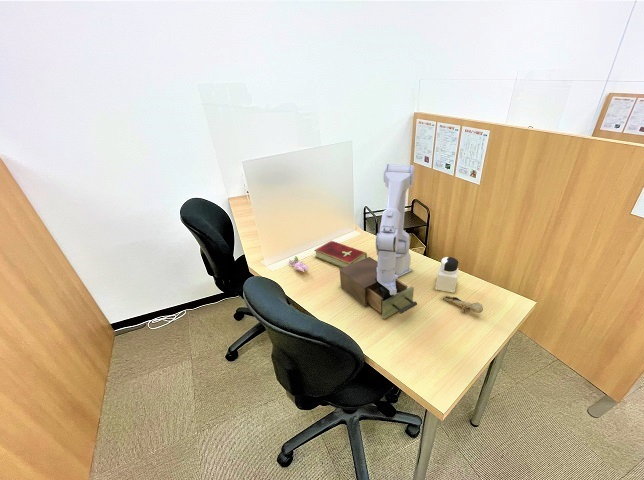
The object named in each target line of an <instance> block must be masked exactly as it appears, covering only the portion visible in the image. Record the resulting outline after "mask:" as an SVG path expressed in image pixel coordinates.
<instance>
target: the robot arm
mask: <svg viewBox="0 0 644 480" xmlns="http://www.w3.org/2000/svg"><path fill="white" fill-rule="evenodd" d="M415 172H416V167H415V165H414V164H389V163H387V164H385V165H384V168H383V182H384V184H385V187H386V188H387V189H388V190H387V191H388V192H387V205H386V209H385V210H383V211H382V215H381V221H380V226H379V231H378V232H377V233H376V237H375V251H376V256H377V262H378V267H377V278H375V281H376V282H377V284H378V287H379V292H380V293H382V294H383V300H386V299H388V298H390V297H392V296H393V295H395V294H396V292H397V286H396V285H395V279H397V280H399V278H400V277H402V276H404V275H406V274H408V273H410V272H412V269H411V260H412V259H411V258H412V257H411V253H410V246H411V245H410V244H411V236H410V234H409V233H408V232H406V230H404V225H405V213H406V212H405V211H406V198H407V191H408V189H410V188H413V186H414V183H415V182H414V181H415V174H416V173H415ZM395 273H396V274H395Z"/></svg>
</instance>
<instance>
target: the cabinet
mask: <svg viewBox="0 0 644 480" xmlns="http://www.w3.org/2000/svg"><path fill="white" fill-rule="evenodd" d="M377 267H378V260H376V259H374V258H373V257H370V256H367V258H365V259H363V260H360V261H358V262H356V263H353V264H351V265H348V266H346V267H343V268H339V280H340V288H341V289H342V290H343V291H345V292H346V293H347V294H348V295H350V296H351V297H352V298H353V299H354V300H356V301H357V302H358V303H359V304H360V305H362V306H363V307H364V308H367V307H368V306H371V305H370V304H368V303H367V292H366V289H367V288H369V287H371V286H374V285H376V284H377V282H376V281H375V278H377ZM395 274H396V273H395Z"/></svg>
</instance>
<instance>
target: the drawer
mask: <svg viewBox="0 0 644 480" xmlns="http://www.w3.org/2000/svg"><path fill="white" fill-rule="evenodd" d="M395 285H396V286H397V292H396V293H398V294H396V295H394V296H392V297H390V298H388V299H386V300H384V301H383V298H382V297H381V296H379V295H378V293H380V292H379V287H378V284H376V285H374V286H371V287H369V288H367V289H366V292H367V303H368V304H370V305H369V306H371V307H372V308H373V309H375V310H376V311H377V312H379V313H380V314H381V318H382V319H384V320H385V319H387V318H389V317H391V316H392V315H394V314H396V313H398V312H399V314H401V315H402V314H404V313H406V312H407V311H409V310H411V309H413V308H415V307H417V306H418V302H417V301H414V291H415V288H414V286H409V287H408V285H407V284H405V283H404V282H402V281H401V280H399V279H395Z"/></svg>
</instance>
